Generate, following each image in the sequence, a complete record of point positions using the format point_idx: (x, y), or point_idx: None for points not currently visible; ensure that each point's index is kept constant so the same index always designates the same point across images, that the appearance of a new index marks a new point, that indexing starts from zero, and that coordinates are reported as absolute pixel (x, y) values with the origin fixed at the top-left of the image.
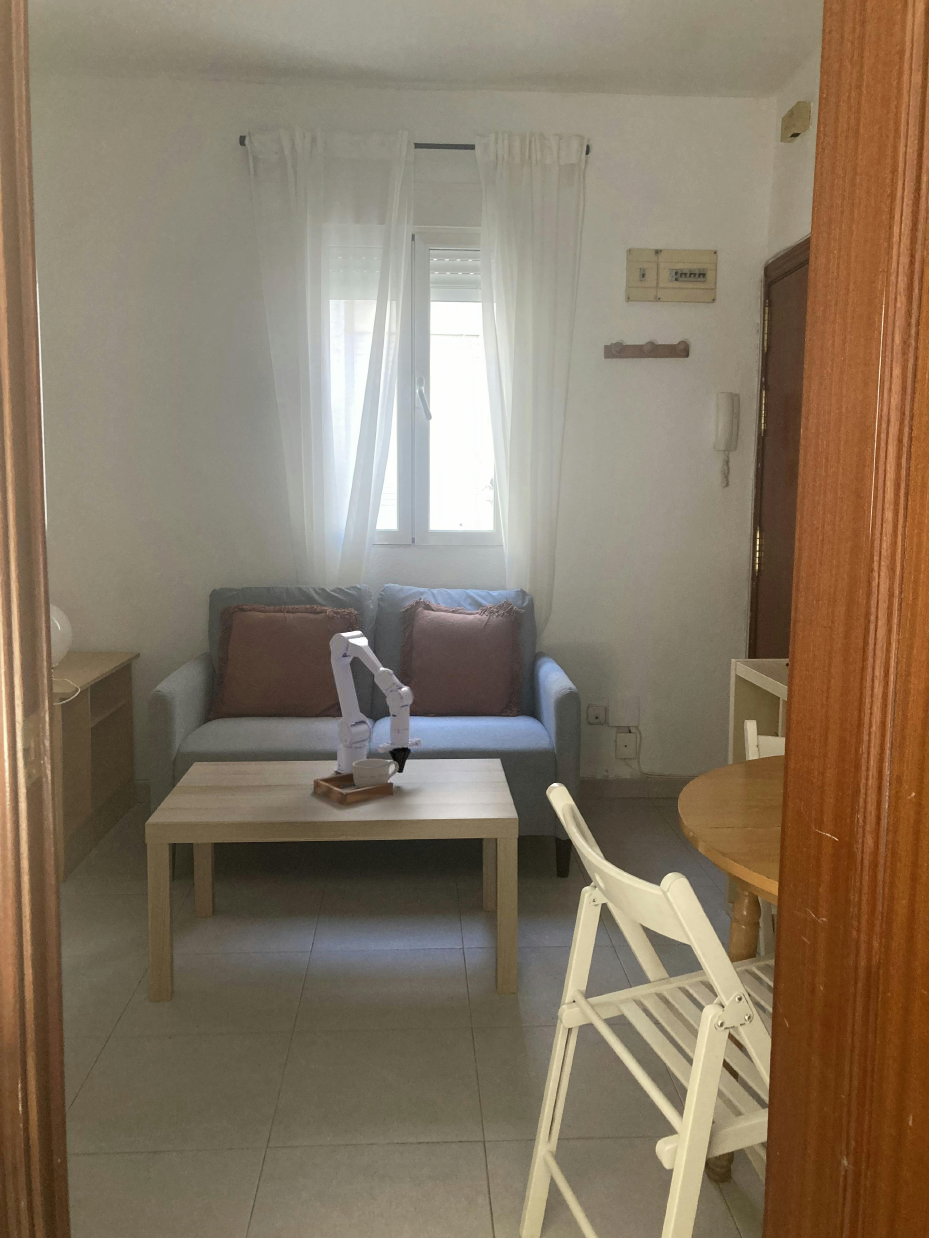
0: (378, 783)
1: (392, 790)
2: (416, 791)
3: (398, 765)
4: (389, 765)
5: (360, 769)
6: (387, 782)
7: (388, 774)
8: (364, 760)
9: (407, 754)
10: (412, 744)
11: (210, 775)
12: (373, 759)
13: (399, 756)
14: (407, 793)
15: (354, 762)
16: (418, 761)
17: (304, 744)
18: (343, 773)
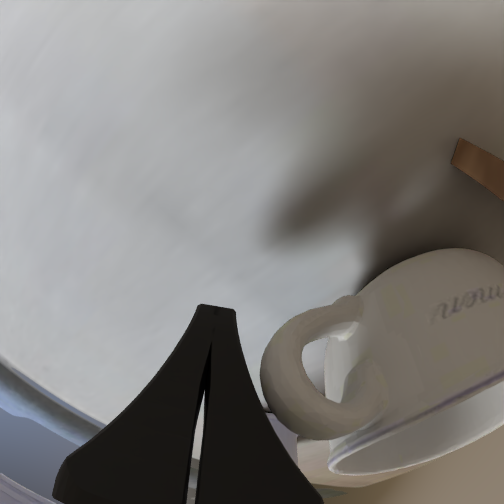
0: (499, 263)
1: (481, 149)
2: (293, 36)
3: (285, 367)
4: (376, 394)
5: None
6: (415, 260)
7: (429, 304)
8: (374, 468)
9: (126, 457)
10: (5, 494)
11: (417, 464)
12: (343, 470)
13: (284, 472)
14: (383, 65)
15: (442, 454)
16: (12, 357)
17: (189, 486)
18: (297, 435)
